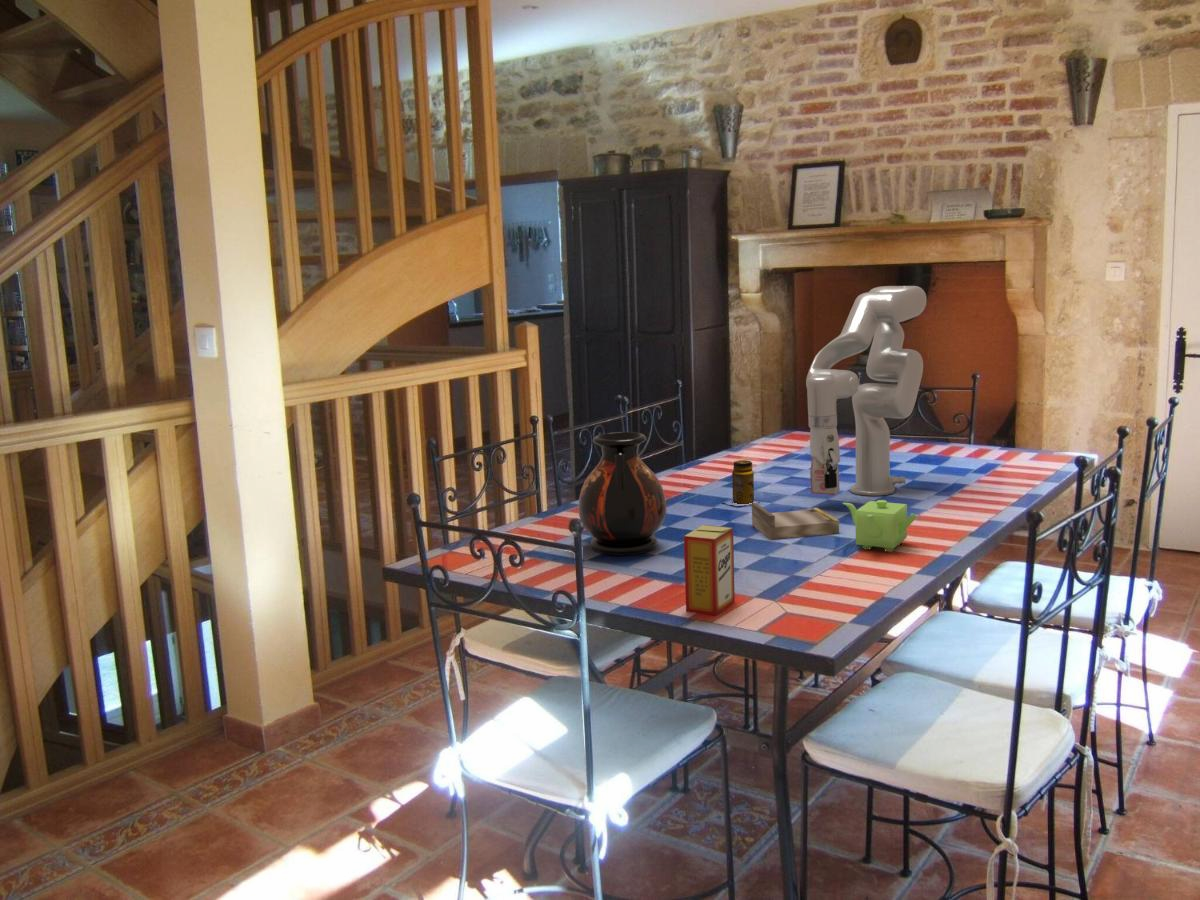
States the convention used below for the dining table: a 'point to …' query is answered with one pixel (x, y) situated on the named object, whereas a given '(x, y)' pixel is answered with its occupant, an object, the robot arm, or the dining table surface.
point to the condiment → (743, 482)
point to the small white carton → (821, 479)
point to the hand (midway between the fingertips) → (825, 483)
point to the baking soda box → (709, 569)
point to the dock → (793, 523)
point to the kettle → (881, 524)
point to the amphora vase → (622, 498)
